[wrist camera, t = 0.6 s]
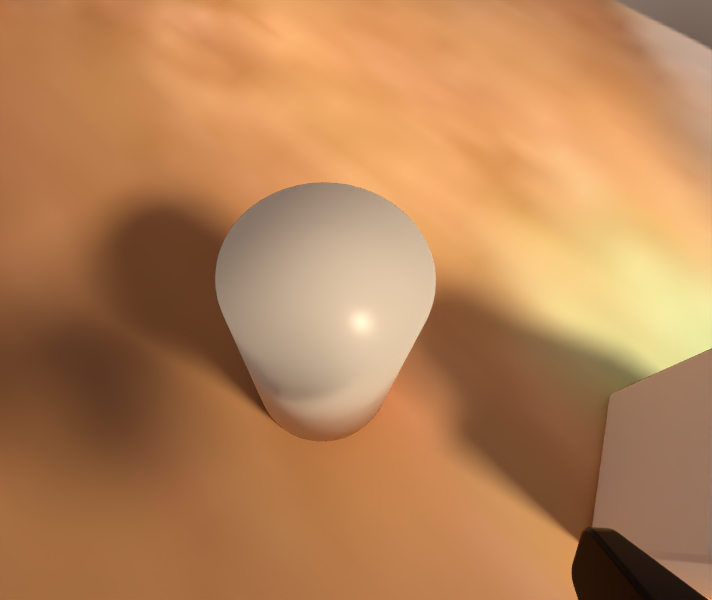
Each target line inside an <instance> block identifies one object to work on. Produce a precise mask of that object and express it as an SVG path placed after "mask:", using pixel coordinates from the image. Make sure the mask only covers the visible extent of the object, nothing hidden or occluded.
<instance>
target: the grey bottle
mask: <svg viewBox="0 0 712 600" xmlns="http://www.w3.org/2000/svg"><path fill="white" fill-rule="evenodd" d="M592 527H598V528H611V529H613V530H615V531H617V532H618V533H620V534H621V535H622V536H624V537H625V538H626V539H628V540H629V541H630V542H632V543H633V544H634V545H636V546H637V547H638V548H640V549H641V550H642V551H644V552H645V553H646V554H648V555H649V556H651V557H652V558H653V559H655V560H656V561H657V562H659V563H660V564H661V565H663V566H664V567H665V568H667V569H668V570H669V571H671V572H672V573H673V574H675V575H676V576H677V577H679V578H680V579H681V580H683V581H684V582H685V583H687V584H688V585H689V586H691V587H692V588H693V589H695V590H696V591H697V592H699V593H700V594H701V595H703V596H705V597H708V598H710V599H712V349H709V350H707V351H705V352H703V353H700V354H698V355H696V356H694V357H692V358H689V359H687V360H685V361H683V362H680V363H678V364H676V365H674V366H671V367H669V368H667V369H665V370H663V371H660V372H658V373H656V374H654V375H651V376H649V377H647V378H645V379H643V380H640V381H638V382H636V383H634V384H631V385H629V386H627V387H625V388H622V389H620V390H618V391H616V392H614V393H612V394H611V396H610V398H609V405H608V412H607V420H606V427H605V434H604V442H603V449H602V457H601V464H600V471H599V479H598V486H597V494H596V501H595V508H594V516H593V523H592Z"/></svg>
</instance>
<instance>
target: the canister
mask: <svg viewBox="0 0 712 600" xmlns="http://www.w3.org/2000/svg"><path fill="white" fill-rule="evenodd" d="M215 287H216V293H217V299H218V302H219V305H220V308H221V311H222V314H223V316H224V318H225V321H226V323H227V325H228V327H229V329H230V332H231V334H232V336H233V338H234V341H235V343H236V345H237V347H238V349H239V352H240V354H241V356H242V358H243V360H244V363H245V365H246V367H247V369H248V372H249V374H250V376H251V378H252V380H253V383H254V385H255V387H256V389H257V391H258V394H259V396H260V398H261V400H262V403H263V404H264V406H265V408H266V410H267V412H268V413H269V415H270V416H271V417H272V419H273V420H274V421H275V422H276V423H277V424H278V425H279V426H281V427H282V428H283V429H284V430H286V431H288V432H289V433H291V434H293V435H295V436H298V437H300V438H303V439H307V440H312V441H332V440H338V439H341V438H345V437H347V436H350V435H352V434H354V433H355V432H357V431H359V430H360V429H362V428H363V427H364V426H365V425H367V424H368V423H369V422H370V421H371V420H372V419H373V417H374V416H375V415H376V413H377V412H378V411H379V409H380V407H381V405H382V403H383V401H384V399H385V398H386V396H387V394H388V392H389V390H390V388H391V386H392V384H393V382H394V381H395V379H396V377H397V375H398V373H399V371H400V369H401V367H402V365H403V364H404V362H405V360H406V358H407V356H408V354H409V352H410V350H411V348H412V347H413V345H414V343H415V341H416V339H417V337H418V335H419V333H420V331H421V330H422V328H423V326H424V324H425V322H426V320H427V318H428V316H429V313H430V311H431V308H432V305H433V301H434V296H435V288H436V274H435V266H434V262H433V257H432V254H431V251H430V249H429V246H428V244H427V242H426V240H425V238H424V236H423V235H422V233H421V231H420V230H419V229H418V227H417V226H416V225H415V223H414V222H413V221H412V220H411V219H410V218H409V217H408V216H407V215H406V214H405V213H404V212H403V211H402V210H401V209H399V208H398V207H397V206H396V205H394V204H393V203H391V202H390V201H388V200H387V199H385V198H383V197H381V196H379V195H377V194H375V193H373V192H370V191H368V190H365V189H362V188H359V187H355V186H351V185H346V184H339V183H309V184H303V185H297V186H293V187H290V188H286V189H283V190H281V191H278V192H276V193H274V194H271V195H269V196H268V197H266V198H264V199H262V200H260V201H259V202H258V203H256V204H255V205H253V206H252V207H251V208H249V209H248V210H247V211H246V212H245V213H244V214H243V215H242V216H241V217H240V218H239V219H238V220H237V222H236V223H235V224H234V225H233V226H232V228H231V229H230V231H229V233H228V234H227V236H226V237H225V240H224V242H223V244H222V246H221V249H220V252H219V255H218V259H217V264H216V271H215Z"/></svg>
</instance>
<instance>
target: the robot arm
mask: <svg viewBox="0 0 712 600" xmlns="http://www.w3.org/2000/svg"><path fill="white" fill-rule="evenodd" d="M572 580H573V584H574V588H575V591H576V594H577V597H578V600H708V599H707V598H705V597H704V596H703V595H701V594H700V593H699V592H697V591H696V590H695V589H693V588H692V587H691V586H689V585H688V584H687V583H685V582H684V581H683V580H681V579H680V578H679V577H677V576H676V575H675V574H673V573H672V572H671V571H669V570H668V569H667V568H665V567H664V566H663V565H661V564H660V563H659V562H657V561H656V560H655V559H653V558H652V557H651V556H649V555H648V554H646V553H645V552H644V551H642V550H641V549H640V548H638V547H637V546H636V545H634V544H633V543H632V542H630V541H629V540H628V539H626V538H625V537H624V536H622V535H621V534H620V533H618V532H617V531H615V530H613V529H611V528H598V527H588V528H586V529H584V530H583V532H582V534H581V537H580V540H579V544H578V547H577V551H576V554H575V557H574V561H573V564H572Z"/></svg>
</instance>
